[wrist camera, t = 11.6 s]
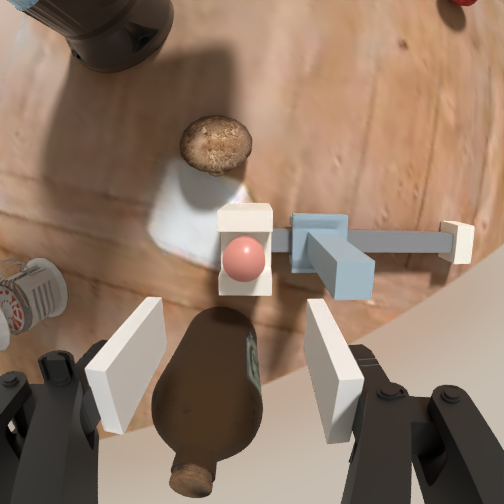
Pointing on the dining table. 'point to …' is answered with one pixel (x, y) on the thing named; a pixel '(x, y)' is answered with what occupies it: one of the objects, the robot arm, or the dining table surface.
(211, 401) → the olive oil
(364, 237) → the slide rail
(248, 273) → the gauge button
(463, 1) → the onion
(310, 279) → the dining table surface
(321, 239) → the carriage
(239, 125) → the mushroom
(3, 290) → the french press
